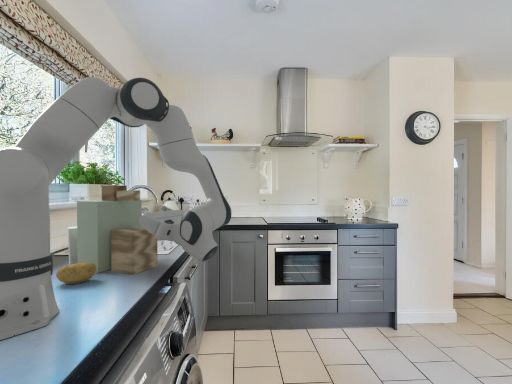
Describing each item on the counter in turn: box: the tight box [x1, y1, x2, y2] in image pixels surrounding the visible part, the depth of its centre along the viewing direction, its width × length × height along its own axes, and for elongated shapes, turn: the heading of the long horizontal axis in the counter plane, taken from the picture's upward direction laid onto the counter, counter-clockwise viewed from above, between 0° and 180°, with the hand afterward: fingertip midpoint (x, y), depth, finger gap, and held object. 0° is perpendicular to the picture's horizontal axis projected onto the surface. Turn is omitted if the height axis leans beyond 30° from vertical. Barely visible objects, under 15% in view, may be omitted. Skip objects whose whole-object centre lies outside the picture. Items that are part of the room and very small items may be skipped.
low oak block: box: [110, 227, 159, 275], centre depth 109 cm, size 12×11×15 cm
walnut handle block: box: [101, 185, 141, 201], centre depth 112 cm, size 6×16×6 cm, turn 64°
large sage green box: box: [76, 199, 143, 274], centre depth 114 cm, size 20×12×26 cm, turn 154°
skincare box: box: [67, 225, 77, 265], centre depth 115 cm, size 8×7×16 cm
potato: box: [56, 262, 97, 285], centre depth 92 cm, size 7×11×6 cm, turn 114°
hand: (153, 208), depth 104 cm, fingers open, 8 cm apart
